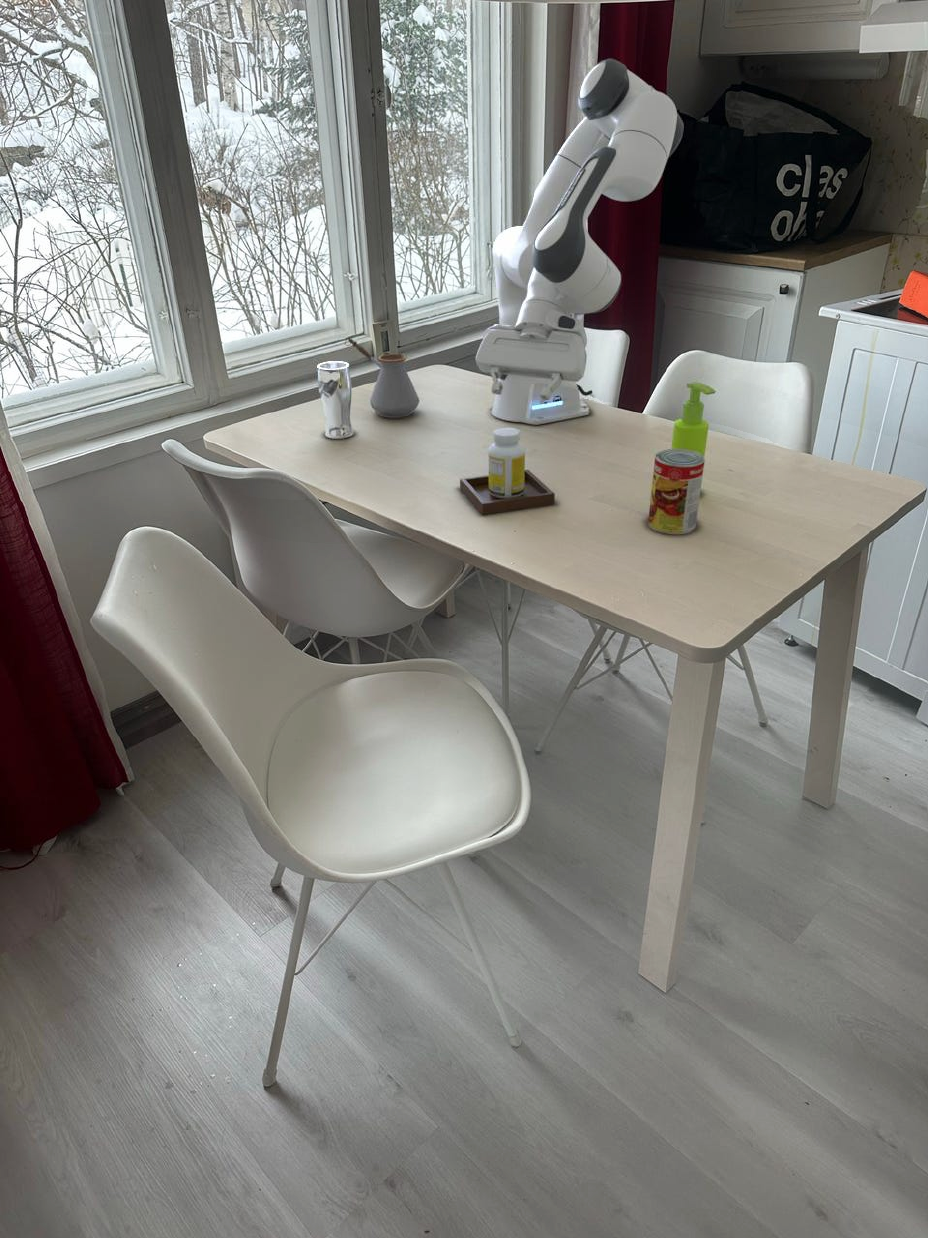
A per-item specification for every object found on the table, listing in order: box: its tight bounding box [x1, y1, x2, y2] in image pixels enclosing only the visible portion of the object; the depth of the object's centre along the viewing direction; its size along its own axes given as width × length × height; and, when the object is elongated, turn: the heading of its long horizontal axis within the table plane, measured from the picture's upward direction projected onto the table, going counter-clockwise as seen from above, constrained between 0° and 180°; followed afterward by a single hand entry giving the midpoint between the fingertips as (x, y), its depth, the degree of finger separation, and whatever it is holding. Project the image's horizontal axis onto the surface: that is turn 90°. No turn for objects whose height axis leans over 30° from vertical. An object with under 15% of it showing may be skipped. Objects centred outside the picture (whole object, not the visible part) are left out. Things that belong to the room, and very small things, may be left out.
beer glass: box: [316, 361, 354, 440], centre depth 184 cm, size 7×7×15 cm
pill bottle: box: [488, 427, 526, 499], centre depth 153 cm, size 6×6×12 cm
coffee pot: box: [344, 337, 420, 419], centre depth 199 cm, size 21×12×15 cm, turn 47°
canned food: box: [647, 448, 706, 535], centre depth 142 cm, size 8×8×12 cm
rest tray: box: [459, 469, 555, 516], centre depth 156 cm, size 14×13×2 cm
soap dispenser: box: [670, 382, 717, 457], centre depth 151 cm, size 6×7×20 cm
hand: (520, 395), depth 155 cm, fingers open, 8 cm apart
